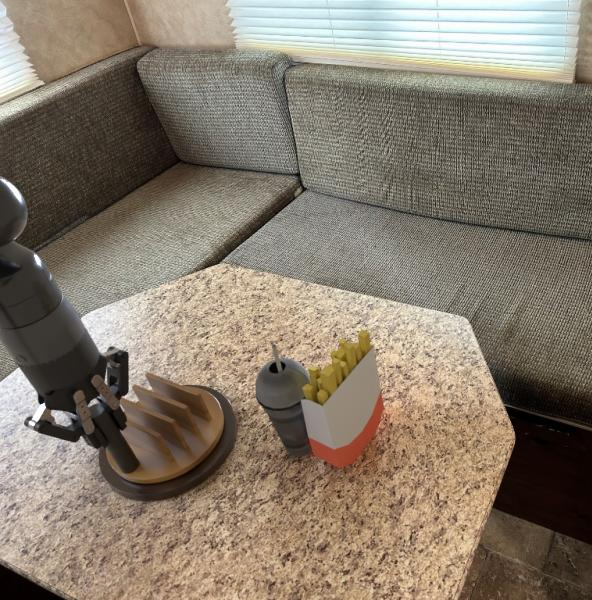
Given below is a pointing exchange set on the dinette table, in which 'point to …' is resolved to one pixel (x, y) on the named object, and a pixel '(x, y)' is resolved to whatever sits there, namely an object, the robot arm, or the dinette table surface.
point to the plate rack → (161, 431)
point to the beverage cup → (285, 401)
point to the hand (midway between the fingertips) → (110, 435)
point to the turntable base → (187, 479)
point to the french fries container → (343, 403)
